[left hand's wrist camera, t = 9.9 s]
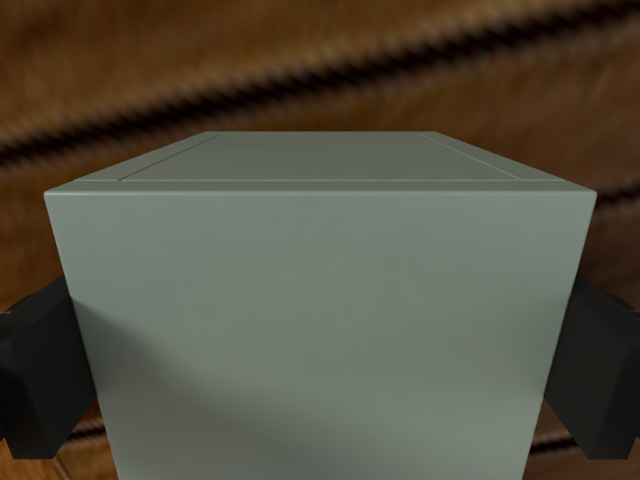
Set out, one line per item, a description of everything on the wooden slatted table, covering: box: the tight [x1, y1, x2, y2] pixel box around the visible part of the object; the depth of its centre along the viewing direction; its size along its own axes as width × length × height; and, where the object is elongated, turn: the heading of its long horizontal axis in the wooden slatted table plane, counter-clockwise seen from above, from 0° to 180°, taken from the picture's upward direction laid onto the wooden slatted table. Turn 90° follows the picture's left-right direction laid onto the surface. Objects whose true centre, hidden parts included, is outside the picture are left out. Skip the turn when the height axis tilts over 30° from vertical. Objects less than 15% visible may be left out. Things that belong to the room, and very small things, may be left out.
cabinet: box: [44, 132, 597, 480], centre depth 15 cm, size 16×10×11 cm, turn 0°
